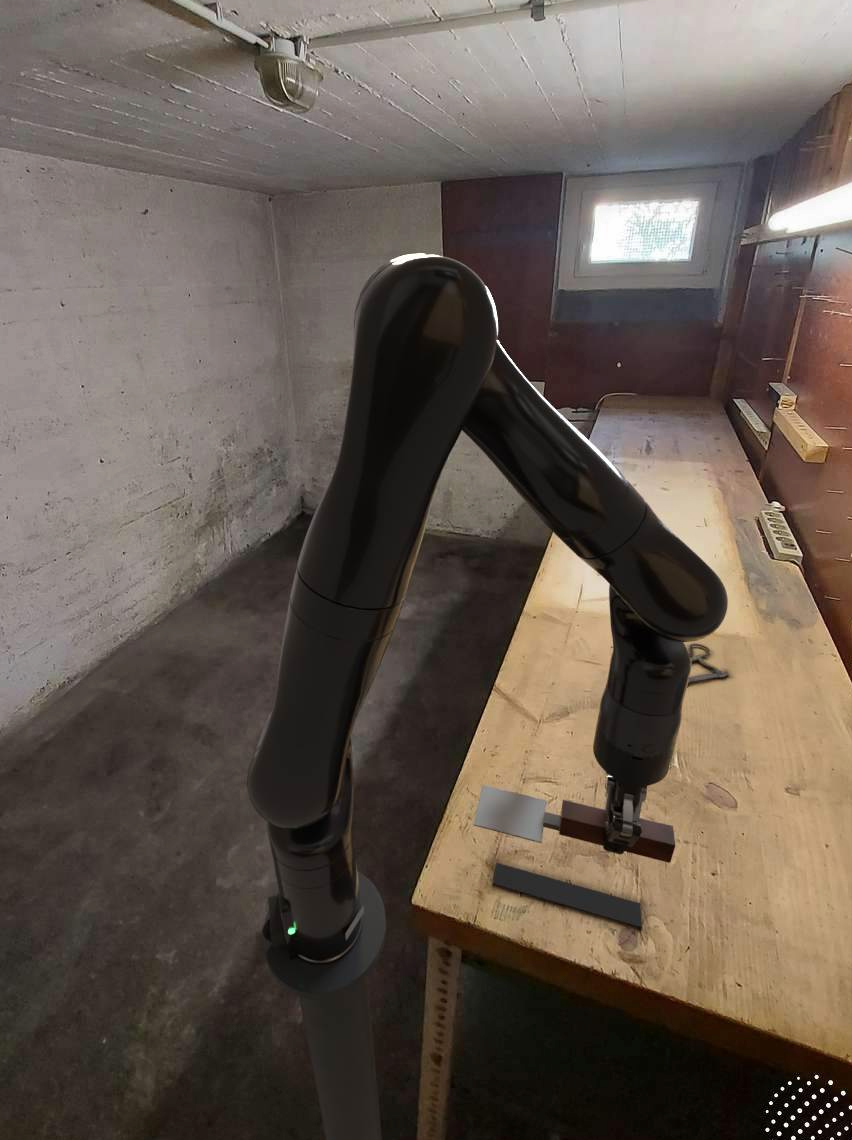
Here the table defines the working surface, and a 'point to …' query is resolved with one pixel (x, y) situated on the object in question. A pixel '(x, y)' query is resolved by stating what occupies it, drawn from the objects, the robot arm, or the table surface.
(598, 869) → the table surface
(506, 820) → the scraper
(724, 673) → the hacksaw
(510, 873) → the edge strip
